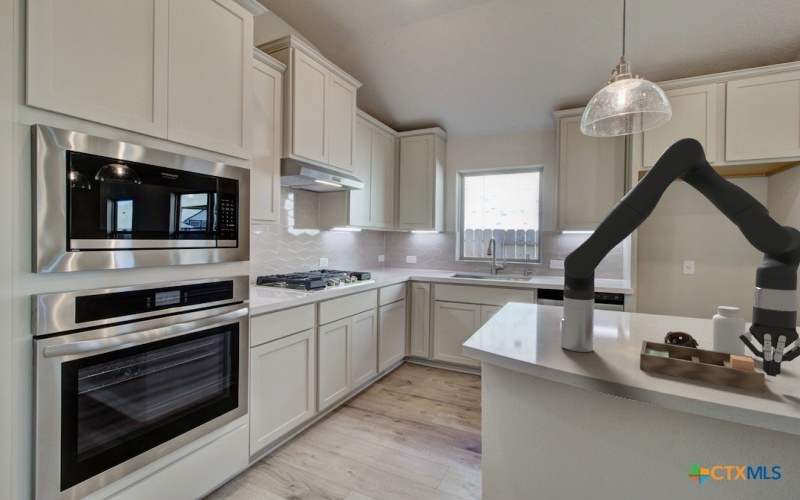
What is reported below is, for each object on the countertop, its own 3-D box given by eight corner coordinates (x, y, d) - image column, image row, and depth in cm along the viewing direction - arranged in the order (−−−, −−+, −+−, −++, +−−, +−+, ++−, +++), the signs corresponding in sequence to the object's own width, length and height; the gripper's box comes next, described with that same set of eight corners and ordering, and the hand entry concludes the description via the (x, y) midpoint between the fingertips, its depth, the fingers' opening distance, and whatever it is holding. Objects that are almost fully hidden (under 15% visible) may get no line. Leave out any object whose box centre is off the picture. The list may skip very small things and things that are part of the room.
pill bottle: (704, 349, 119) (706, 305, 118) (726, 349, 119) (728, 305, 119) (728, 357, 111) (730, 310, 110) (751, 357, 111) (753, 309, 111)
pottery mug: (711, 361, 109) (704, 340, 107) (679, 372, 111) (672, 351, 109) (683, 340, 121) (676, 320, 119) (655, 350, 122) (648, 331, 120)
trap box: (639, 369, 101) (640, 353, 101) (642, 354, 114) (643, 340, 114) (763, 392, 86) (764, 374, 86) (751, 372, 99) (751, 356, 99)
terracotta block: (731, 374, 91) (732, 358, 91) (729, 369, 94) (730, 354, 94) (753, 377, 89) (754, 362, 89) (750, 372, 92) (751, 357, 92)
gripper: (809, 307, 87) (805, 376, 87) (735, 301, 95) (732, 364, 95) (820, 312, 81) (815, 387, 81) (740, 305, 89) (737, 373, 89)
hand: (770, 375), depth 88 cm, fingers closed
